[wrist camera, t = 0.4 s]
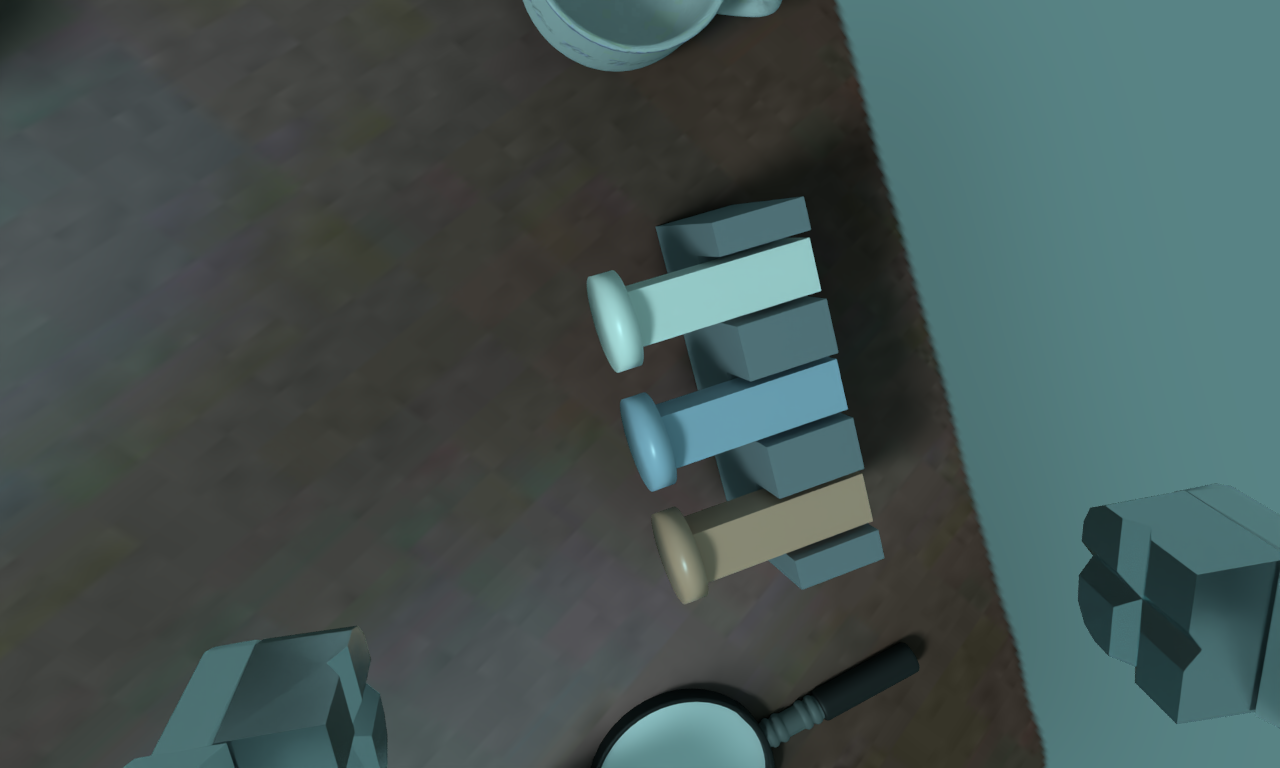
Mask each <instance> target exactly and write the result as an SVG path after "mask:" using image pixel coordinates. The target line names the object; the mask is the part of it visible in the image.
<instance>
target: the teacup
mask: <svg viewBox="0 0 1280 768" xmlns="http://www.w3.org/2000/svg"><path fill="white" fill-rule="evenodd" d="M523 2H524V5H525V7H526V10H527V12H528V14H529V16H530V17H531V19H532V21H533V23H534V24H535V26H536V27H537V29H538V30H539V31H540V33H541V34H542V35H543V36H544V38H545V39H546V40H547V41H548V42H549V43H550V44H551V45H552V46H553V47H555V48H556V49H557V50H558V51H560V52H561V53H562V54H564V55H565V56H567V57H568V58H570V59H572V60H574V61H576V62H578V63H580V64H582V65H585V66H587V67H590V68H594V69H598V70H604V71H629V70H634V69H638V68H642V67H645V66H648V65H650V64H653V63H655V62H657V61H659V60H660V59H662V58H664V57H666V56H667V55H669V54H670V53H672V52H673V51H674V50H676V49H677V48H678V47H679V46H681V45H682V44H683V43H684V42H686V41H688V40H689V39H691V38H693V37H694V36H695V35H697V34H698V33H699V32H700V31H702V30H703V29H704V28H705V27H706V26H707V25H708V24H709V23H710V21H711V20H712V19H713V18H714V16H715V15H716V14H722V15H731V16H744V17H761V16H767V15H770V14H772V13H774V12H775V11H776V10H777V9H778V8H779V6H780V4H781V2H782V0H523Z"/></svg>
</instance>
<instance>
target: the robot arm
mask: <svg viewBox="0 0 1280 768" xmlns="http://www.w3.org/2000/svg"><path fill="white" fill-rule="evenodd" d="M1082 542H1083V543H1084V544H1085V546H1086V547H1087V548H1088V550H1089V551H1090V552H1091V554H1092V555H1093V557H1092V558H1091V559H1090V561H1089V562H1088V564H1087V565H1086V566H1085V568H1084V569H1083V571H1082V572H1081V573H1080V575H1079V588H1078V602H1079V606H1080V609H1081V613H1082V617H1083V620H1084V623H1085V625H1086V627H1087V629H1088V631H1089V632H1090V634H1091V636H1092V638H1093V639H1094V641H1095V642H1096V643H1097V644H1098V645H1099V646H1100V647H1101V648H1102V649H1103V650H1104V651H1105V653H1106V654H1107V655H1108V656H1110V657H1112V658H1115V659H1117V660H1120V661H1122V662H1125V663H1127V664H1130V665H1132V666H1134V667H1135V683H1136V684H1137V685H1138V686H1139V687H1140V688H1141V689H1142V690H1143V691H1144V692H1145V693H1146V694H1147V695H1148V696H1149V697H1150V698H1151V699H1152V700H1153V701H1154V702H1155V703H1156V704H1157V705H1158V706H1159V707H1160V708H1161V709H1162V710H1163V711H1164V712H1165V713H1166V714H1167V715H1168V716H1169V717H1170V718H1171V719H1172V720H1173V721H1174V722H1175V723H1176V724H1181V723H1188V722H1194V721H1200V720H1207V719H1213V718H1219V717H1226V716H1232V715H1239V714H1245V713H1251V712H1255V716H1256V717H1258V718H1260V719H1262V720H1264V721H1266V722H1268V723H1270V724H1272V725H1274V726H1276V727H1278V728H1280V515H1279V514H1278V513H1276V512H1274V511H1273V510H1271V509H1269V508H1268V507H1266V506H1264V505H1263V504H1261V503H1259V502H1258V501H1256V500H1254V499H1253V498H1251V497H1249V496H1247V495H1246V494H1244V493H1243V492H1241V491H1239V490H1237V489H1236V488H1234V487H1232V486H1229V485H1222V484H1217V483H1215V484H1210V485H1205V486H1200V487H1195V488H1190V489H1185V490H1180V491H1175V492H1173V493H1167V494H1162V495H1157V496H1151V497H1146V498H1141V499H1135V500H1130V501H1125V502H1120V503H1114V504H1109V505H1104V506H1098V507H1092V508H1090V510H1089V512H1088V514H1087V516H1086V518H1085V520H1084V524H1083V534H1082ZM370 662H371V657H370V654H369V650H368V647H367V643H366V640H365V636H364V633H363V632H362V631H361V629H360V628H359V627H358V626H351V627H344V628H337V629H330V630H323V631H316V632H309V633H302V634H295V635H288V636H281V637H274V638H267V639H263V640H261V641H260V640H252V641H246V642H240V643H234V644H229V645H223V646H217V647H213V648H212V649H210V650H208V651H206V652H205V653H204V654H203V656H202V658H201V660H200V662H199V664H198V665H197V667H196V669H195V671H194V673H193V675H192V677H191V679H190V681H189V683H188V685H187V687H186V689H185V691H184V693H183V694H182V696H181V698H180V700H179V702H178V704H177V706H176V708H175V710H174V712H173V714H172V716H171V718H170V720H169V722H168V723H167V725H166V727H165V729H164V731H163V733H162V735H161V737H160V739H159V741H158V743H157V745H156V747H155V749H154V751H153V752H152V754H151V756H147V757H142V758H136V759H134V760H132V761H131V762H130V763H128V764H127V765H126V766H124V767H123V768H387V729H386V721H385V714H384V709H383V705H382V701H381V697H380V694H379V693H378V692H377V691H376V690H374V689H373V688H372V687H370V686H369V685H368V684H367V683H366V680H367V676H368V671H369V667H370Z"/></svg>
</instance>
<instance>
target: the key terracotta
mask: <svg viewBox="0 0 1280 768" xmlns="http://www.w3.org/2000/svg"><path fill="white" fill-rule="evenodd" d="M651 521H652V529H653V534H654V538H655V542H656V545H657V549H658V552H659V555H660V558H661V561H662V564H663V566H664V569H665V572H666V574H667V576H668V579H669V581H670V583H671V585H672V587H673V589H674V591H675V593H676V595H677V597H678V598H679V600H680V601H681V602H682V603H683V604H687V603H690V602H692V601H695V600H698V599H700V598H703V597H706V596H707V595H708V582H711V581H714V580H716V579H719V578H722V577H724V576H727V575H730V574H733V573H735V572H738V571H741V570H743V569H746V568H749V567H751V566H754V565H757V564H759V563H762V562H765V561H767V560H770V559H773V558H775V557H778V556H781V555H783V554H786V553H789V552H791V551H794V550H797V549H799V548H802V547H805V546H807V545H810V544H813V543H815V542H818V541H821V540H823V539H826V538H829V537H831V536H834V535H837V534H839V533H842V532H845V531H847V530H850V529H853V528H856V527H858V526H861V525H864V524H866V523H869V522H872V521H873V519H872V515H871V510H870V506H869V501H868V497H867V492H866V488H865V483H864V479H863V474H862V473H860V472H858V471H856V472H853V473H851V474H848V475H845V476H842V477H840V478H837V479H834V480H831V481H828V482H826V483H823V484H820V485H817V486H815V487H812V488H809V489H806V490H803V491H801V492H798V493H795V494H792V495H790V496H787V497H784V498H781V499H779V498H777V497H776V496H774V495H773V494H772V493H770V492H769V491H767V490H766V489H764V488H763V489H760V490H757V491H755V492H752V493H749V494H746V495H743V496H741V497H738V498H735V499H732V500H729V501H727V502H724V503H721V504H718V505H715V506H713V507H710V508H707V509H704V510H701V511H699V512H696V513H693V514H690V515H687V516H685V517H684V516H683V515H682V513H681V512H680V510H679V509H678V508H676V507H672V508H669V509H666V510H663V511H660V512H657V513H655V514H652V518H651Z"/></svg>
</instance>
